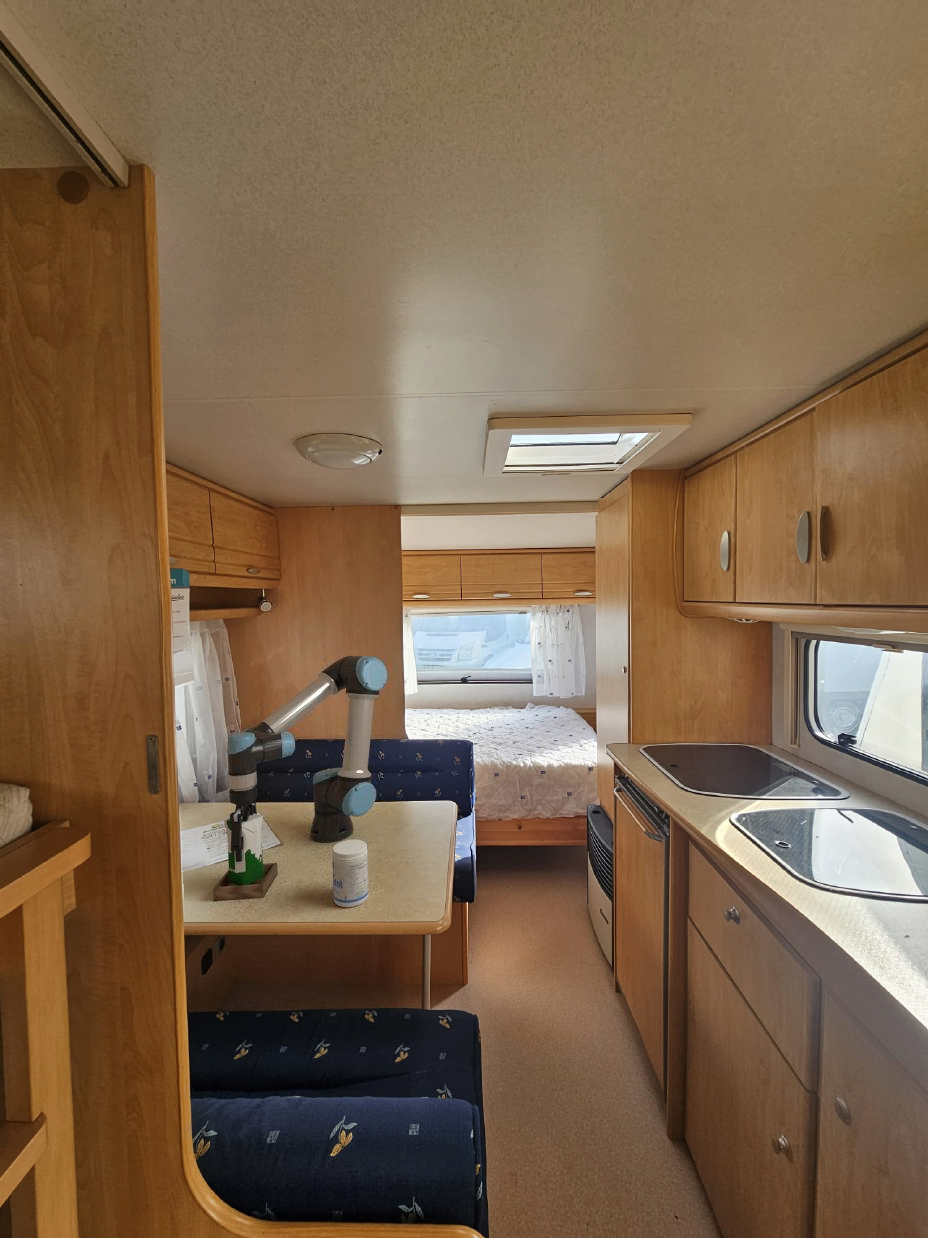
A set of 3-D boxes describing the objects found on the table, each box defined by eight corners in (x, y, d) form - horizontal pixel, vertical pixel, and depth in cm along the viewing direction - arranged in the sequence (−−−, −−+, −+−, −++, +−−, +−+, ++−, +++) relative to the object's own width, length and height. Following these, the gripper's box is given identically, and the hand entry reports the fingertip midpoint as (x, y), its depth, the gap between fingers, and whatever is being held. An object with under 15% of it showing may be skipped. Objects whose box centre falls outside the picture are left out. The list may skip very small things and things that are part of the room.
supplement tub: (326, 901, 143) (324, 848, 143) (354, 886, 150) (352, 836, 150) (348, 913, 137) (346, 857, 137) (376, 897, 144) (374, 844, 144)
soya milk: (223, 882, 151) (220, 813, 151) (250, 869, 159) (248, 803, 159) (242, 890, 146) (239, 819, 146) (269, 875, 154) (266, 808, 154)
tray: (277, 874, 160) (277, 862, 160) (263, 897, 146) (262, 885, 146) (232, 877, 159) (231, 865, 159) (213, 901, 145) (213, 889, 145)
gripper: (243, 776, 163) (246, 848, 163) (214, 800, 142) (218, 883, 142) (267, 775, 163) (270, 847, 163) (243, 798, 142) (246, 881, 142)
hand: (246, 864), depth 153 cm, fingers closed on soya milk, 8 cm apart
